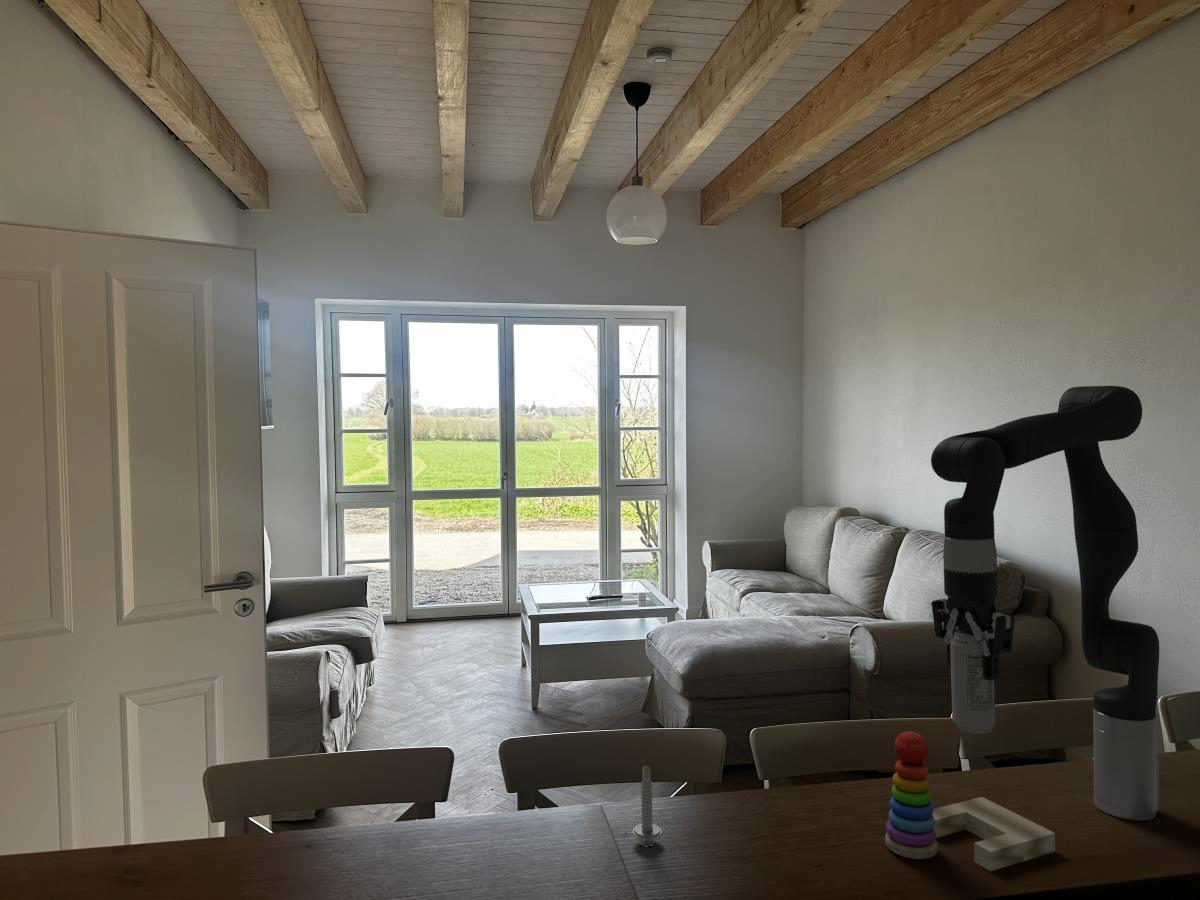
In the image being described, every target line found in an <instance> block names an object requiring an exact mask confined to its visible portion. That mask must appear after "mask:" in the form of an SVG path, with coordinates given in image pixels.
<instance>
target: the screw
mask: <svg viewBox="0 0 1200 900" xmlns="http://www.w3.org/2000/svg"><path fill="white" fill-rule="evenodd" d="M641 769H642V770H641V772H642V773H641V781H642V782H640V784H641V786H640V792H641V793H640V795H641V797H640V799H641V800H640V802H641V804H640V805H641V808H640V809H641V811H640V813H641V819H640V820H641V823H639V824H636V825H635V826H634V827H633V829H632V836H633V837H635V838H636V839H638V843H639V842H640V843H642V844H643V845H644V846H650V845H654V846H655V844H656V842H657V841H656V840H658V839H659V838H660V837H661V836H662V834H663V830H662V829H661V827H660V826H659V825H657V824H655V823H653V822H654V821H653V791H652V790H653V784H652V780H651V767H650V766H648V765H644V766H642V767H641ZM655 841H656V842H655ZM654 843H655V844H654Z"/></svg>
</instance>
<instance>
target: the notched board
mask: <svg viewBox="0 0 1200 900" xmlns="http://www.w3.org/2000/svg"><path fill="white" fill-rule="evenodd" d="M932 815H933V816H934V819H935V825H934V827H933V828H934V830H935V833H936V837H935V839H937V838H941V837H944V836H948V835H951V834H952V835H953V834H956V833H959V832H962V831H966V830H967V831H968V832H970V833H972V834H973V835H976V836H977V837H978V838H980V839H982V840H979V841H976V842H974V847H973V848H974V849H973V851H974V853H973V854H974V858H973V859H974V861H973V862H974V863H976V864H977V865H979V866H981V867H982V868H984V869H985V870H987V871H989V872H993V871H997V870H1000V869H1003V868H1007V867H1009V866H1013V865H1016V864H1020V863H1022V862H1027V861H1030V860H1033V859H1036V858H1039V857H1042V856H1045V855H1049V854H1052V853H1055V852H1056V833H1055V832H1054V831H1052V830H1050V829H1048V828H1046V827H1044V826H1042V825H1039V824H1038V823H1035V822H1033V821H1032V820H1030V819H1027V818H1026V817H1024V816H1022V815H1019V814H1017V813H1015V812H1014V811H1011V810H1010V809H1007V808H1005V807H1004V806H1001V805H999V804H997V803H995V802H993V801H991V800H990V799H987V798H985V797H983V796H979V797H976V798H971V799H969V800H965V801H959V802H957V803H952V804H949V805H944V806H941V807H936V808H933V814H932Z"/></svg>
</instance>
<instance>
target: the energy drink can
mask: <svg viewBox="0 0 1200 900" xmlns="http://www.w3.org/2000/svg"><path fill="white" fill-rule="evenodd" d="M954 633H955V634H954V636H953V638H952V639H951V641H950V648H951V668H950V678H951V679H950V680H951V681H950V682H951V712H952V713H951V714H952V716H951V717H952V718H951V719H952V722H953V723H954V724H955V725H956V728H957V729H958V730H960V731H962V732H965V733H968V734H974V735H975V734H977V735H978V734H979V735H981V734H982V735H983V734H989V733H991V732H992V728H993V727H995V726H996V709H995V708H996V707H995V704H996V703H995V679H994V680H990V681H989V680H986V679H984V678H983V655H984V653H983V650H982V648H981V645H980V643H979V642H978V641H976V639H975V637H974V634H973V633H971V632H969V631H967V630H955V631H954ZM982 633H983V634H988V631H985V632H982ZM988 643H989V646H990V647H991V645H990V642H989V641H988Z"/></svg>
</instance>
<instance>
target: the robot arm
mask: <svg viewBox="0 0 1200 900" xmlns="http://www.w3.org/2000/svg"><path fill="white" fill-rule="evenodd" d="M1142 419H1143V406H1142V402H1141V399H1140V397H1139V396H1138V394H1137V393H1136V392H1135V391H1134V390H1132V389H1131V388H1129V387H1126V386H1119V385H1095V386H1094V385H1093V386H1092V385H1090V386H1088V385H1085V386H1081V385H1080V386H1074V387H1069V388H1067V389H1066V390H1065V391H1064V392H1063V393H1062V395H1061V397H1060V399H1059V401H1058V407H1057V411H1055V412H1049V413H1048V412H1047V413H1044V414H1036V415H1029V416H1024V417H1021V418H1017V419H1014V420H1010V421H1008V422H1006V423H1003V424H999V425H997V426H995V427H992V428H988V429H982V430H977V431H970V432H966V433H962V434H960V433H959V434H957V435H952V436H950V437H947V438H945V439H943V440H941V441H940V442H939V443H938V444H937V445H936V446H935V447H934V449H933V451H932V453H931V457H930V464H931V468H932V471H933V472H934V473H935V474H936V476H937V477H939V478H940V479H942V480H944V481H947V482H951V483H966V484H965V487H964V492H963V495H962V496H961V497H956V498H953V499H949V500H948V501H947V502H946V503H945V505H944V511H943V520H944V523H943V524H944V528H943V529H944V543H943V551H942V552H943V553H942V554H943V555H942V559H943V592H944V594H945V595H946V596H947V599H946V598H942V599H935V600H932V601H931V608H932V609H931V610H932V618H933V625H934V626H933V627H934V633H935V636H936V638H938V639H940V638H941V639H942V640H943V641H944V643H945V644H946V658H947V659H946V660H947V664H948V666H949V668H950V669H951V648H950V641H951V639H952V638H953V636H954V634H955V633H954V631H955V630H967V631H969V632H971V633H973V634H974V637H975V639H976V641H978V642H979V643H980V645H981V648H982V650H983V653H984V655H983V678H984V679H986V680H989V681H990V680H994V681H995V680H997V679H998V677H999V676H1000V673H1001V672H1000V657H1001V655H1004V654H1010V653H1011V652H1012V650H1013V642H1014V641H1013V640H1014V631H1015V630H1014V629H1015V621H1016V620H1015V616H1014V615H1013V614H1004V613H1001V612H998V609H997V607H996V604H995V602H996V599H997V597H998V593H999V592H998V589H999V588H998V557H997V556H998V553H997V547H996V546H997V545H996V541H995V509H996V505H997V501H998V498H999V493H1000V490H1001V486H1002V482H1003V479H1004V475H1005V470H1007V469H1013V468H1017V467H1020V466H1022V465H1025V464H1028V463H1030V462H1033V461H1036V460H1038V459H1041V458H1044V457H1047V456H1049V455H1052V454H1056V453H1060V452H1062V451H1063V453H1064V458H1065V462H1066V467H1067V472H1068V477H1069V485H1070V492H1071V502H1072V514H1073V515H1072V516H1073V529H1074V531H1073V532H1074V539H1075V547H1076V553H1077V561H1078V569H1079V570H1078V571H1079V580H1080V600H1081V603H1080V606H1081V607H1080V608H1081V609H1080V610H1081V611H1080V612H1081V618H1080V619H1081V621H1080V622H1081V625H1080V626H1081V645H1082V646H1081V647H1082V653H1083V656H1084V659H1085V661H1086V663H1087V664H1088V665H1089V666H1090V667H1092V668H1094V669H1097V670H1100V671H1101V670H1102V671H1105V672H1110V673H1115V674H1116V673H1117V674H1120V675H1125V676H1128V677H1127V678H1128V679H1127V683H1126V685H1123V686H1118V687H1117V686H1116V687H1106V688H1105V687H1104V688H1102V689H1098V690H1096V691H1095V692H1094V693H1093V698H1092V703H1093V704H1092V707H1093V708H1092V709H1093V710H1092V712H1093V713H1092V718H1093V719H1092V721H1093V723H1092V724H1093V727H1092V728H1093V732H1092V734H1093V739H1092V740H1093V804H1094V806H1095V807H1096V808H1097V809H1099V810H1100V811H1102V812H1104V813H1106V814H1108V815H1111V816H1113V817H1116V818H1120V819H1123V820H1125V819H1126V820H1130V821H1149V820H1153V819H1154V818H1156V816H1157V812H1159V811H1160V803H1159V802H1160V798H1159V797H1160V796H1159V795H1160V793H1159V792H1160V791H1159V789H1160V787H1159V786H1160V785H1159V783H1160V782H1159V779H1160V776H1159V773H1160V771H1159V767H1160V766H1159V763H1160V761H1159V760H1160V759H1159V757H1158V756H1157V746H1156V745H1157V734H1156V733H1157V732H1156V731H1157V728H1156V727H1157V725H1156V721H1157V717H1156V716H1157V701H1158V684H1159V683H1158V681H1159V679H1158V678H1159V667H1160V665H1159V664H1160V640H1159V635H1158V634H1157V631H1156V629H1155V628H1153V626H1150V625H1149V624H1144V623H1141V622H1140V623H1139V622H1133V621H1132V622H1131V621H1126V620H1119V619H1113V618H1111V616H1110V612H1109V608H1110V607H1109V606H1110V605H1109V604H1110V599H1111V595H1112V594H1113V591H1114V590H1115V587H1117V585H1118V583H1119V582H1120V581H1121V579H1122V578H1123V576H1124V575H1125V574H1126V572H1128V570H1129V569H1130V567H1131V566H1132V565H1133V562H1134V561H1135V559H1136V557H1137V556H1138V551H1139V538H1138V537H1139V535H1138V525H1137V517H1136V512H1135V510H1134V508H1133V506H1132V504H1131V503H1130V501H1129V499H1128V498H1127V496H1126V495H1125V494H1124V492H1123V490H1122V489H1121V487H1119V486H1118V484H1117V483H1116V482H1115V480H1114V479H1113V477H1112V475H1110V473H1109V472H1108V470H1107V468H1106V466H1105V464H1104V461H1103V458H1102V455H1101V450H1100V445H1099V443H1101V442H1107V441H1108V442H1111V441H1112V442H1113V441H1118V440H1119V441H1120V440H1124V439H1126V438H1128V437H1130V436H1132V435H1133V434H1134V433H1135V432H1136V430H1137V429H1138V428H1139V426H1140V425H1141V422H1142ZM985 631H986V632H988V634H983V633H982V632H985ZM988 641H989V642H990V645H991V647H990V646H989V643H988Z"/></svg>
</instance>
